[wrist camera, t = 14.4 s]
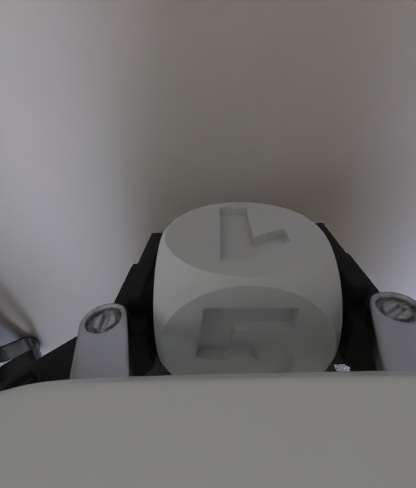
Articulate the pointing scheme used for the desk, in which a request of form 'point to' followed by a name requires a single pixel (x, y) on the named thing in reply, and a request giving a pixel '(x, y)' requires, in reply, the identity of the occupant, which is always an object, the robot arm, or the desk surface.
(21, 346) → the coffee press
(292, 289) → the die
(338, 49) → the desk surface
